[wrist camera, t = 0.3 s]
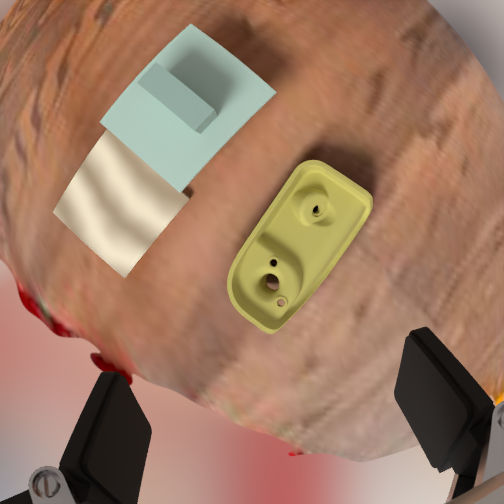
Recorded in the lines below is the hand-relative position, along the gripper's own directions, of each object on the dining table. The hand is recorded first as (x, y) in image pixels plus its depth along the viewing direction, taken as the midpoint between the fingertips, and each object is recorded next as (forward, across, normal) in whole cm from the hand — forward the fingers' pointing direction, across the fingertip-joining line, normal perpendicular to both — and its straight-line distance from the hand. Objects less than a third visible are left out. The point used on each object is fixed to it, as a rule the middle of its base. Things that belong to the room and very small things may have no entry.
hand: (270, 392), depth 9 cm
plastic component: (+30, -6, +4) cm, 31 cm away
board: (+30, +16, -4) cm, 34 cm away
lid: (+24, +4, -13) cm, 28 cm away
